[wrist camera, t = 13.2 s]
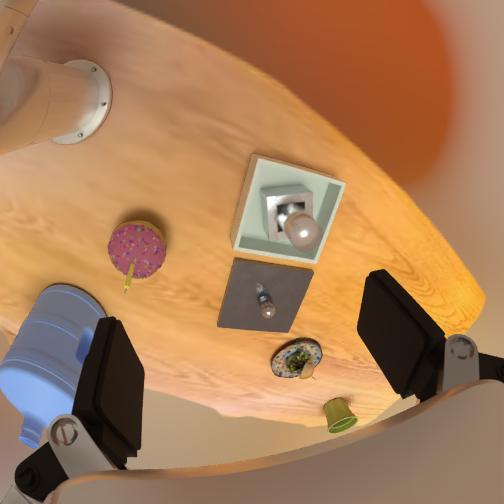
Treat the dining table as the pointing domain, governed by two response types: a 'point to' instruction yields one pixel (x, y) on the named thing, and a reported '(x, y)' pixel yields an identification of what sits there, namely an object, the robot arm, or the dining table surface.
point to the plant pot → (339, 416)
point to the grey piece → (290, 216)
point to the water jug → (49, 357)
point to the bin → (281, 174)
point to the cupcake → (137, 249)
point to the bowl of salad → (297, 359)
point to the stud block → (263, 296)
